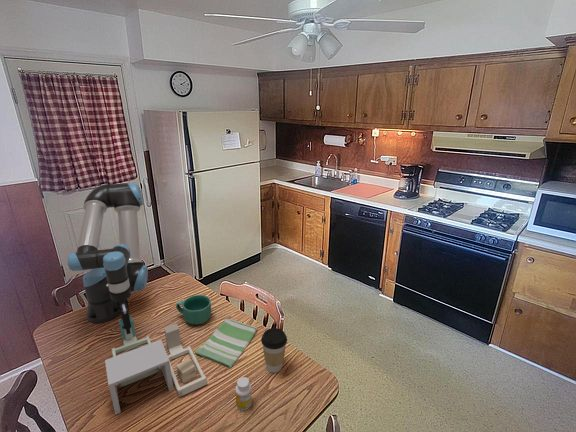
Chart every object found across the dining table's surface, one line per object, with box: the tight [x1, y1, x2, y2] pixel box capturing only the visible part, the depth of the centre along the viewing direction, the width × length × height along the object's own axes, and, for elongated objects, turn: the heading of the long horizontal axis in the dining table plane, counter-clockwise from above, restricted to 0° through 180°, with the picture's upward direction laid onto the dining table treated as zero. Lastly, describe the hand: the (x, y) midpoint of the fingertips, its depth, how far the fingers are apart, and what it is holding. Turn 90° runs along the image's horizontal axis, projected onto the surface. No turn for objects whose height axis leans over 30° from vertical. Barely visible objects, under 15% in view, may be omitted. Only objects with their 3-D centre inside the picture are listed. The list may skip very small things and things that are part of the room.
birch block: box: [175, 358, 197, 384], centre depth 117 cm, size 5×5×5 cm
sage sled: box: [111, 315, 161, 389], centre depth 125 cm, size 28×14×9 cm, turn 34°
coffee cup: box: [260, 327, 288, 374], centre depth 120 cm, size 10×10×15 cm
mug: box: [175, 294, 212, 325], centre depth 147 cm, size 17×13×10 cm
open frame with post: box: [164, 323, 208, 398], centre depth 120 cm, size 28×10×9 cm, turn 34°
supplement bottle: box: [234, 376, 253, 411], centre depth 106 cm, size 5×5×10 cm
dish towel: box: [194, 317, 258, 369], centre depth 134 cm, size 18×23×3 cm
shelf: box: [104, 339, 174, 415], centre depth 110 cm, size 12×18×13 cm, turn 124°
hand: (128, 335), depth 135 cm, fingers closed on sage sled, 4 cm apart
